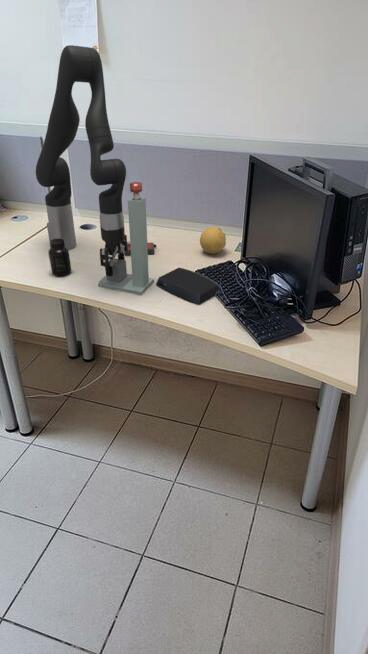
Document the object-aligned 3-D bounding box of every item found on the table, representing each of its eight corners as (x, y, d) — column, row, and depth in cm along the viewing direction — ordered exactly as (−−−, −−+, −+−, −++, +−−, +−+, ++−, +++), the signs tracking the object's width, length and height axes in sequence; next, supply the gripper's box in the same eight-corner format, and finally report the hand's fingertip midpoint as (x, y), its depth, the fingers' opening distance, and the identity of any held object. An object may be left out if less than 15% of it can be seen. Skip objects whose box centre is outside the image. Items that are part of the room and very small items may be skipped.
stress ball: (198, 257, 181) (211, 248, 172) (192, 233, 182) (206, 223, 173) (219, 256, 186) (233, 247, 177) (214, 232, 187) (228, 222, 178)
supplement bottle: (75, 270, 169) (71, 238, 163) (65, 278, 164) (60, 246, 157) (58, 267, 171) (53, 235, 164) (48, 275, 166) (42, 243, 159)
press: (98, 286, 159) (88, 198, 142) (112, 273, 167) (105, 188, 150) (141, 295, 154) (136, 205, 138) (153, 281, 162) (151, 194, 145)
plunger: (129, 209, 143) (127, 184, 139) (134, 205, 146) (133, 181, 142) (139, 211, 142) (138, 186, 138) (145, 207, 145) (144, 182, 141)
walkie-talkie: (156, 246, 188) (105, 248, 186) (155, 235, 185) (104, 238, 183) (157, 255, 180) (104, 258, 178) (157, 245, 178) (103, 247, 176)
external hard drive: (180, 274, 168) (180, 264, 166) (223, 292, 157) (223, 282, 155) (153, 287, 160) (153, 276, 158) (197, 307, 149) (197, 296, 147)
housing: (106, 280, 160) (105, 262, 156) (114, 273, 164) (112, 256, 160) (120, 282, 158) (118, 264, 155) (127, 276, 162) (125, 258, 159)
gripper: (112, 215, 157) (115, 259, 166) (90, 230, 146) (95, 277, 155) (132, 218, 155) (135, 263, 164) (111, 234, 144) (115, 281, 153)
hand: (115, 270), depth 159 cm, fingers open, 8 cm apart
